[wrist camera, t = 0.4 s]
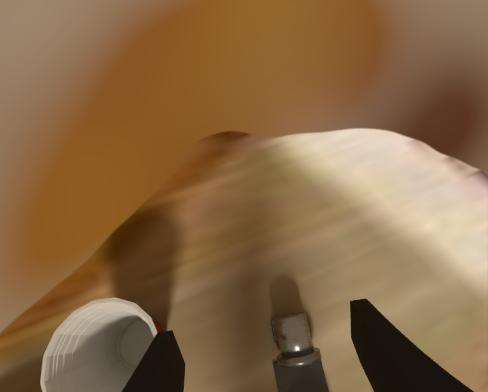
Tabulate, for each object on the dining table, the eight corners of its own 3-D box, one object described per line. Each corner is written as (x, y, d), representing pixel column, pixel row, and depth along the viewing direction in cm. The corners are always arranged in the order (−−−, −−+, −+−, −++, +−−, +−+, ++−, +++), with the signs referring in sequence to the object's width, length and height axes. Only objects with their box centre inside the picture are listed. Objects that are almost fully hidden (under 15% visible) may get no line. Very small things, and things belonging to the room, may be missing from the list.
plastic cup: (172, 284, 40) (145, 281, 28) (194, 370, 36) (173, 405, 25) (91, 312, 38) (29, 320, 27) (107, 403, 35) (44, 456, 24)
